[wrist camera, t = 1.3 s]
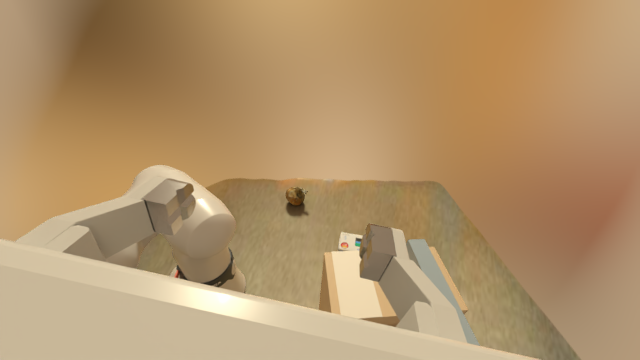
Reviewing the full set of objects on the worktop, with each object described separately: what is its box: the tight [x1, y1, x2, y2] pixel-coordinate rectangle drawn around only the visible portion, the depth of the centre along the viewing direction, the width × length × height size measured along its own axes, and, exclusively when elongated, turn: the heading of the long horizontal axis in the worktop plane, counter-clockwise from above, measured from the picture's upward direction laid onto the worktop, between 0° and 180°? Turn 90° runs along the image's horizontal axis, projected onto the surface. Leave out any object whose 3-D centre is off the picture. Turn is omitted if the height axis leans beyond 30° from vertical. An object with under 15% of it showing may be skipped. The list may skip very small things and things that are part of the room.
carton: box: [319, 247, 468, 327], centre depth 53 cm, size 24×13×26 cm, turn 95°
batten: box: [406, 239, 480, 346], centre depth 42 cm, size 4×22×3 cm, turn 5°
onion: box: [286, 187, 308, 205], centre depth 95 cm, size 8×8×8 cm
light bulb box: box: [338, 232, 363, 251], centre depth 73 cm, size 11×7×11 cm, turn 79°
